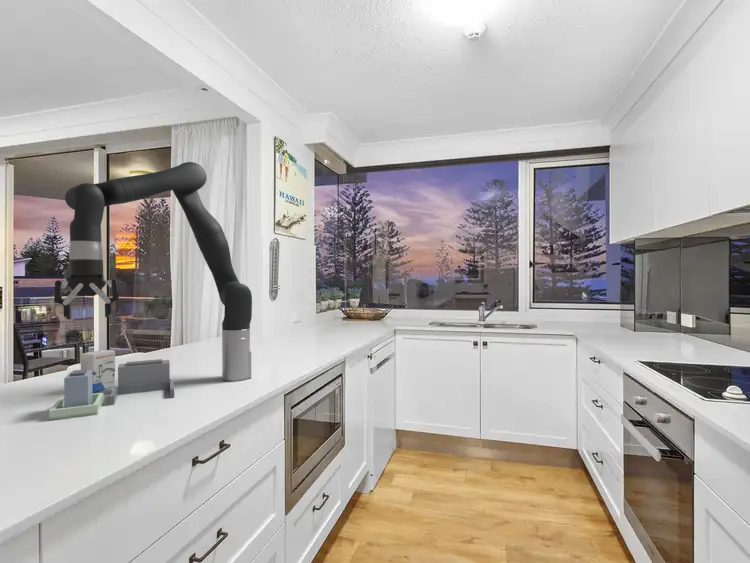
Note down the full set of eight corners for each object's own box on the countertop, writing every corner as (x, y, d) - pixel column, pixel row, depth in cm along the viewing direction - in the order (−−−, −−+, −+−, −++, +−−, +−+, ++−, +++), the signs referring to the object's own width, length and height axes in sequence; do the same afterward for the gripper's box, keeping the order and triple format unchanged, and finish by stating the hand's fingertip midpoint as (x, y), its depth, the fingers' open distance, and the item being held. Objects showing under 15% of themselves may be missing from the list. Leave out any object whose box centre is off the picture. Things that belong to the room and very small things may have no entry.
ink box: (93, 393, 127) (93, 354, 127) (79, 392, 128) (79, 354, 128) (116, 385, 135) (116, 349, 135) (103, 385, 136) (103, 349, 136)
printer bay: (172, 383, 138) (172, 357, 137) (174, 397, 122) (174, 368, 122) (116, 389, 130) (115, 362, 130) (109, 405, 114) (109, 374, 114)
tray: (103, 401, 118) (103, 392, 118) (97, 414, 107) (97, 405, 107) (60, 406, 114) (60, 397, 114) (49, 420, 102) (49, 410, 102)
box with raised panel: (92, 402, 115) (92, 367, 115) (88, 410, 108) (87, 373, 108) (70, 405, 113) (70, 369, 112) (64, 413, 105) (64, 375, 105)
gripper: (118, 259, 119) (119, 315, 119) (56, 259, 112) (58, 318, 113) (116, 258, 113) (118, 317, 113) (50, 257, 106) (52, 321, 106)
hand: (88, 318), depth 113 cm, fingers open, 8 cm apart
